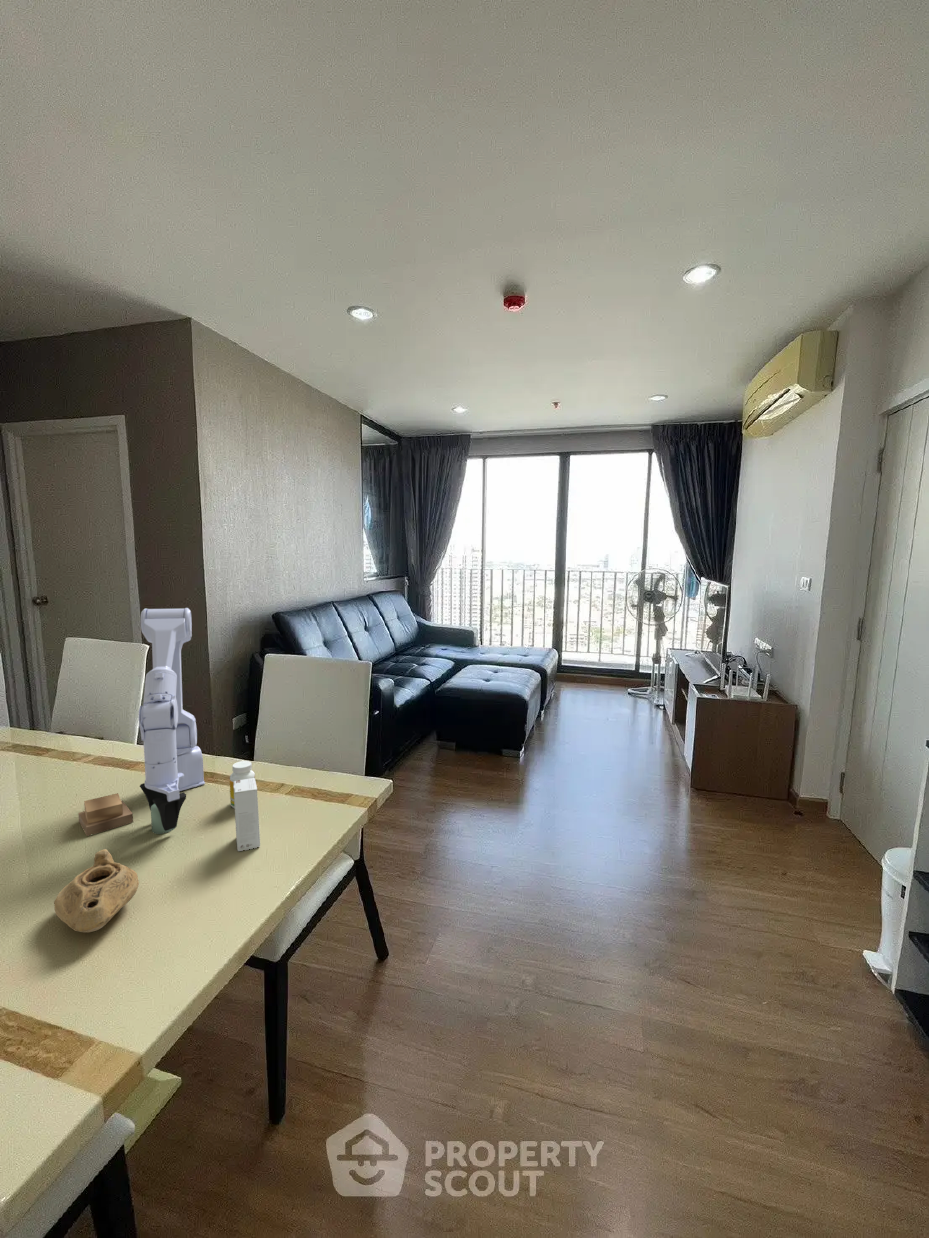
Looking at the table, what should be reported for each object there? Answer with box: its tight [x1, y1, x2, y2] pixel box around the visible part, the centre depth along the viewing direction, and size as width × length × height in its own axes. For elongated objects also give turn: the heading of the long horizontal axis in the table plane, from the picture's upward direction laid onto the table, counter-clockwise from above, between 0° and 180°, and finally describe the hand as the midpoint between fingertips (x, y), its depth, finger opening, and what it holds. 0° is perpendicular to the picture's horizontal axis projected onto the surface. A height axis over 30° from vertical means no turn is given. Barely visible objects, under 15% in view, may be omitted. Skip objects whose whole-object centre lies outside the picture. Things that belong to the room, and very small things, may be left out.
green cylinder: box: [150, 804, 178, 835], centre depth 106 cm, size 4×4×5 cm
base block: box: [77, 800, 134, 837], centre depth 108 cm, size 8×8×2 cm
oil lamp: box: [53, 848, 140, 933], centre depth 80 cm, size 11×15×8 cm
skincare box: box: [233, 777, 261, 852], centre depth 102 cm, size 6×4×12 cm
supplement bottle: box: [229, 760, 256, 809], centre depth 117 cm, size 5×5×10 cm
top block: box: [83, 793, 123, 824], centre depth 108 cm, size 6×6×2 cm
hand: (164, 821), depth 106 cm, fingers open, 7 cm apart
